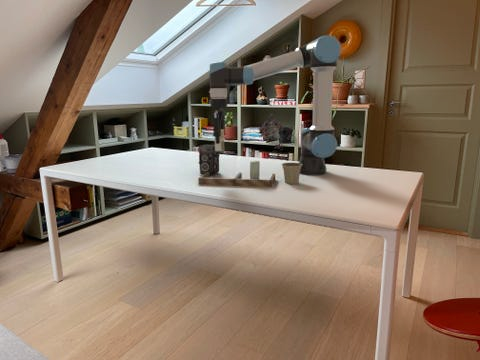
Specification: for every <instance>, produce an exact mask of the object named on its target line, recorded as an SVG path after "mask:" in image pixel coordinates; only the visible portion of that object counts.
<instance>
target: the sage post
mask: <svg viewBox="0 0 480 360" xmlns="http://www.w3.org/2000/svg"><path fill="white" fill-rule="evenodd" d="M260 166H261V165H260V161H259V160H250V161H249V179H258V180H260V173H261V172H260V169H261V168H260Z"/></svg>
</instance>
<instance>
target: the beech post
mask: <svg viewBox="0 0 480 360" xmlns="http://www.w3.org/2000/svg"><path fill="white" fill-rule="evenodd" d="M221 150H222V151H216V152H219V153H223V152H225V135H224V129H221Z"/></svg>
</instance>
